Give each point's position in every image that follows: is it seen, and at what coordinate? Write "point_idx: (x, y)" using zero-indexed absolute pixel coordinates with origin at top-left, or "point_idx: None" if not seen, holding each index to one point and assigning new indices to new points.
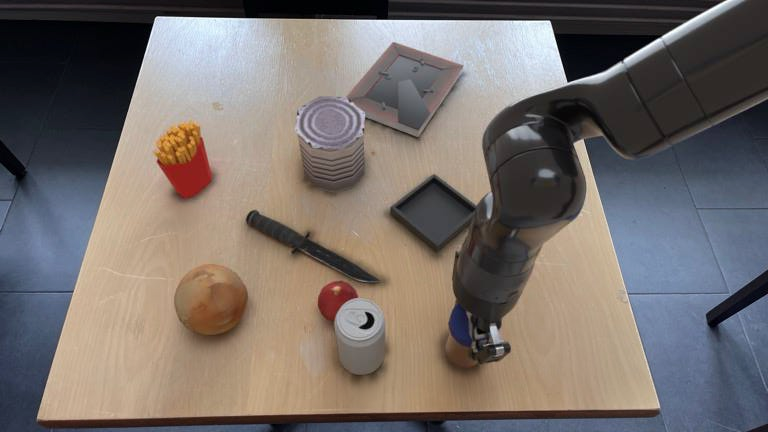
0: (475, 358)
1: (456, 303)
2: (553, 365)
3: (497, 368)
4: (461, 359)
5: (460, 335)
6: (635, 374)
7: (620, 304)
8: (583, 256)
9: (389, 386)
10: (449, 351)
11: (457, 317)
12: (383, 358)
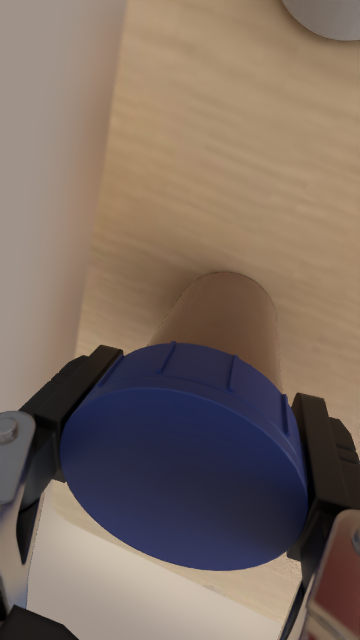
0: (54, 376)
1: (323, 455)
2: None
3: None
4: (173, 307)
5: (105, 402)
6: (91, 525)
7: (199, 582)
8: None
9: (197, 33)
10: (214, 285)
11: (219, 442)
12: (300, 20)
